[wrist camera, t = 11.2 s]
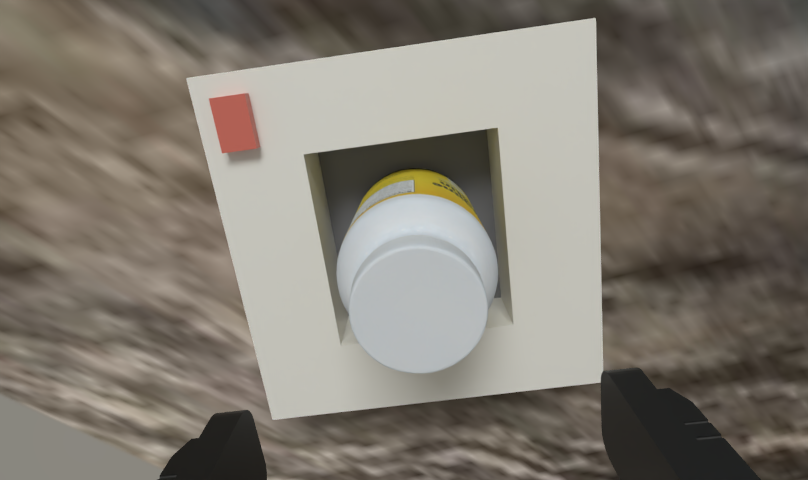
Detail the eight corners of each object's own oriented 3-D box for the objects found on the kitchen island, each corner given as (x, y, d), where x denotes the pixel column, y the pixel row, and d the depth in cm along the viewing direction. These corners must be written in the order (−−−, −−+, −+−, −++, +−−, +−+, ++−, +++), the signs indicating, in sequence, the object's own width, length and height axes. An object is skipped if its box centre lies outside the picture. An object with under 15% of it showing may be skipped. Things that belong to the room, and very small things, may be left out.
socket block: (563, 29, 25) (601, 16, 20) (575, 340, 31) (607, 388, 26) (222, 79, 26) (180, 78, 21) (290, 374, 31) (269, 427, 27)
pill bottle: (478, 270, 28) (524, 388, 17) (366, 284, 28) (340, 409, 17) (467, 156, 26) (510, 206, 15) (347, 173, 27) (303, 233, 16)
